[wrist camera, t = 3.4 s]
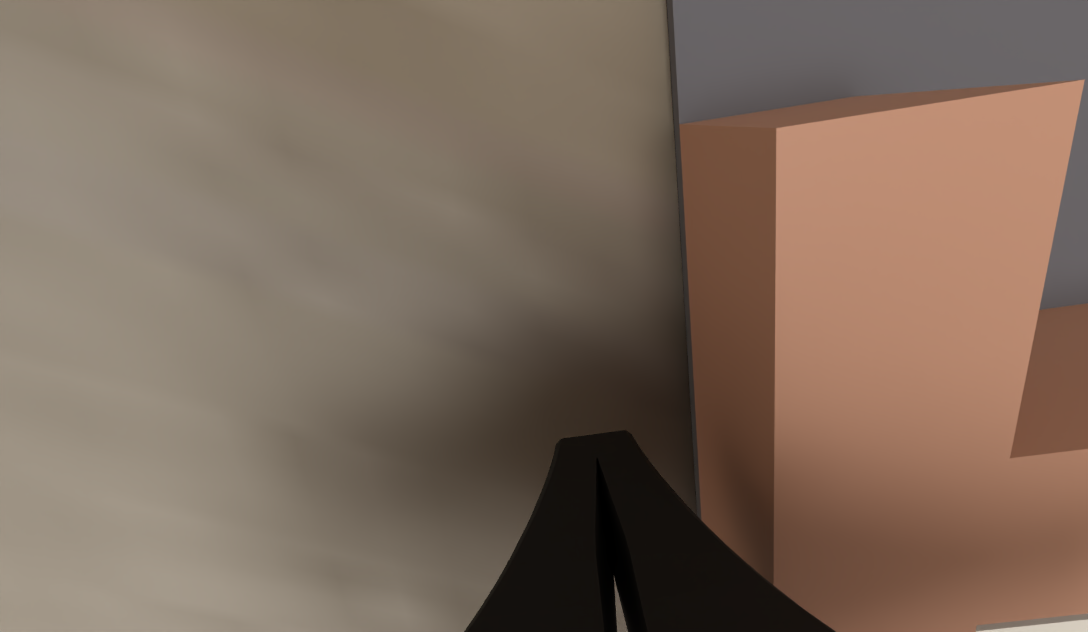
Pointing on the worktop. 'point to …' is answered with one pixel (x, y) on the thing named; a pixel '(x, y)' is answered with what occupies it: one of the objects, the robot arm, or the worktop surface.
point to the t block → (891, 355)
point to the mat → (885, 68)
